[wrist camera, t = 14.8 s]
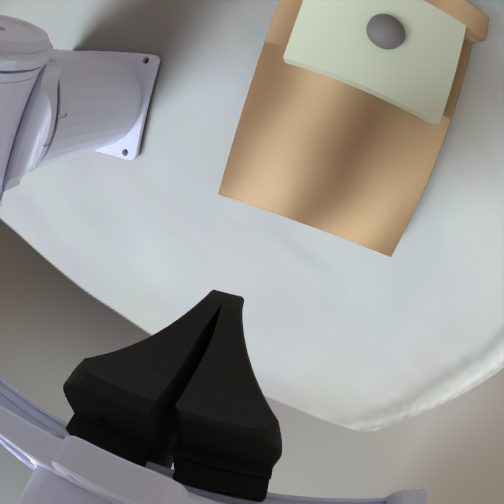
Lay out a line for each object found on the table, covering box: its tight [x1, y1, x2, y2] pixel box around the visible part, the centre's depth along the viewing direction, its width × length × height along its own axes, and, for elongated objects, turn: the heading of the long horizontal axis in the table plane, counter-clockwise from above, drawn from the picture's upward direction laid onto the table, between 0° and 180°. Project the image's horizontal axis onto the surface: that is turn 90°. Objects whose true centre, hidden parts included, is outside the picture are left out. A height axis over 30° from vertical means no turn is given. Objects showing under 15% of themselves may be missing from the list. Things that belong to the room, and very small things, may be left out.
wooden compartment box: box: [219, 0, 489, 257], centre depth 14 cm, size 12×18×4 cm, turn 163°
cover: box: [283, 0, 466, 124], centre depth 12 cm, size 9×7×2 cm
